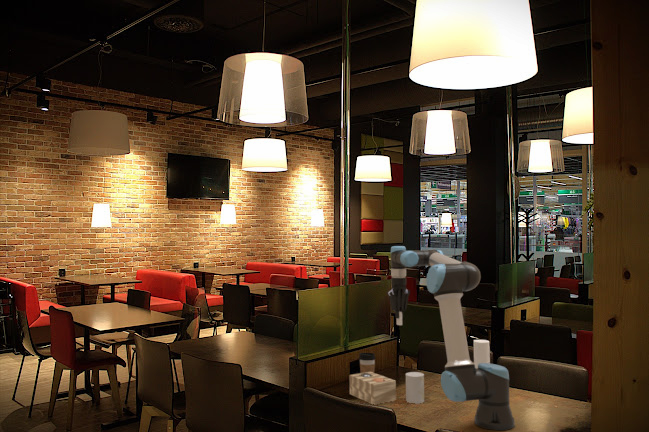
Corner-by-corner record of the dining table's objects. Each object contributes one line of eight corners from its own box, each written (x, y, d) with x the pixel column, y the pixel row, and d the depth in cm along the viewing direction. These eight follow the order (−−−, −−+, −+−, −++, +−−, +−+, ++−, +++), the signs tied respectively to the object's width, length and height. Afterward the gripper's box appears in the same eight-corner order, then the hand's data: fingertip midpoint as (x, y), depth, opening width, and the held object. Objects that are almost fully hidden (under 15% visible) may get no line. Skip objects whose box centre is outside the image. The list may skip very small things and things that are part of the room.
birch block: (395, 400, 250) (395, 380, 251) (374, 405, 244) (374, 384, 245) (370, 390, 268) (370, 371, 268) (349, 394, 262) (349, 374, 262)
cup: (424, 404, 245) (423, 377, 245) (405, 403, 247) (405, 376, 247) (424, 398, 253) (424, 372, 253) (406, 398, 254) (406, 371, 255)
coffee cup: (356, 382, 282) (355, 352, 283) (370, 380, 286) (370, 350, 286) (364, 386, 275) (363, 355, 275) (379, 384, 278) (378, 354, 279)
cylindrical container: (478, 392, 262) (477, 339, 263) (493, 394, 258) (491, 340, 259) (472, 395, 257) (470, 341, 258) (486, 398, 252) (485, 343, 253)
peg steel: (372, 394, 260) (372, 374, 260) (364, 395, 257) (364, 376, 258) (367, 391, 263) (367, 372, 264) (359, 393, 261) (359, 374, 261)
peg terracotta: (385, 399, 251) (385, 379, 251) (377, 401, 249) (377, 380, 249) (379, 397, 255) (379, 377, 255) (371, 398, 252) (371, 378, 253)
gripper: (404, 276, 281) (405, 322, 281) (383, 277, 275) (384, 325, 274) (413, 276, 275) (414, 324, 274) (392, 278, 268) (393, 327, 268)
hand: (399, 324), depth 274 cm, fingers closed
